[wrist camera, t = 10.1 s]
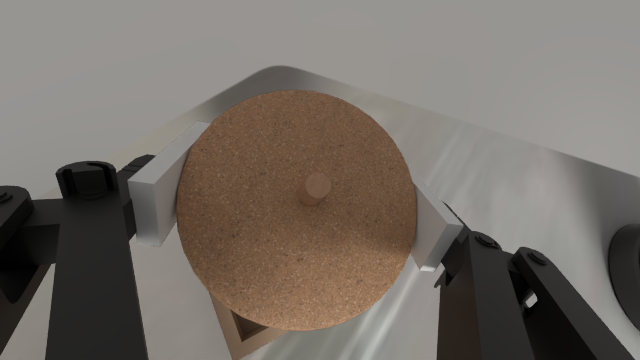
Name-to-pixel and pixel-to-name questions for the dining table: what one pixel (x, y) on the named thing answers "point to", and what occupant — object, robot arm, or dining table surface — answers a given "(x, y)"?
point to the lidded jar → (296, 210)
